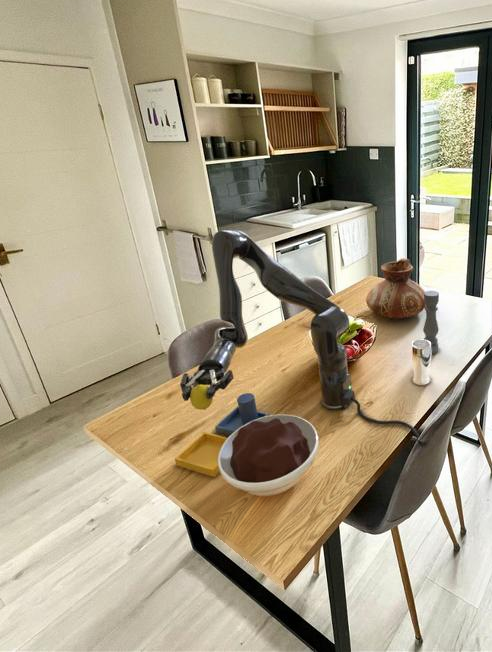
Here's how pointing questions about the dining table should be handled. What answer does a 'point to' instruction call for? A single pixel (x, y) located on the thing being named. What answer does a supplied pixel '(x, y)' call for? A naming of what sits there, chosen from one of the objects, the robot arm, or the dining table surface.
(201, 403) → the lemon
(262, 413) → the blue tray
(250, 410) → the blue cylinder
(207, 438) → the yellow tray
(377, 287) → the painted clay pot
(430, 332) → the grey pepper mill
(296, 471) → the white serving bowl
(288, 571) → the dining table surface
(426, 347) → the silver metal cylinder
